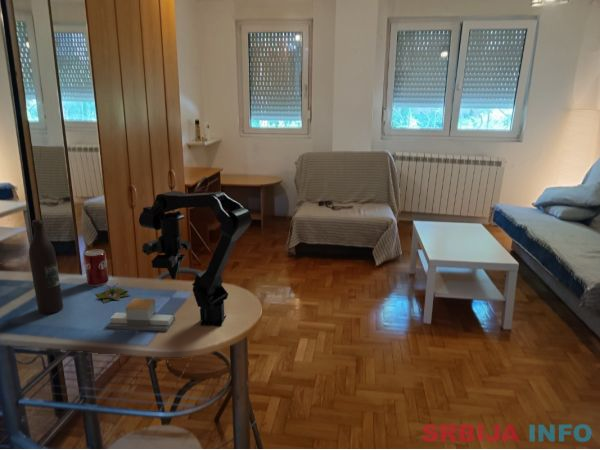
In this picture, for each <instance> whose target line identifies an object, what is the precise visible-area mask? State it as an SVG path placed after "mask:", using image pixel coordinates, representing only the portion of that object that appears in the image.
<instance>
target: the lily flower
mask: <svg viewBox="0 0 600 450" xmlns="http://www.w3.org/2000/svg"><path fill="white" fill-rule="evenodd" d="M108 283H109V282H108ZM118 284H119V283H116V284H114V285H113V287H109V286H108V285H106V284H105V286H106V287H107V288H106V289H105V290H104V291H103V292H99V293H95V294H94V295H95V296H97V298H96V299H95V301H97V300H100V299H102V302H103V304H105V303H107V302H109V301H112V300H116V301H118V302H119V301H120V299H121V298H122V297H129V296H131V295H130V294H128V293H126V292H129V290H128V289H123V288H122V287H116V286H117V285H118ZM109 285H111V283H109ZM114 295H115V296H114Z"/></svg>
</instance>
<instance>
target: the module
mask: <svg viewBox="0 0 600 450" xmlns="http://www.w3.org/2000/svg"><path fill="white" fill-rule="evenodd" d="M156 309H157V307H156V299H154V298H135V297H134V298H133V299H132V300H130V302H129V303H128V304H127V305H126V306H125V313H126V316H127V325H131V326H149V325H150V322H149V319H150V317H151V316H152V315H153V314H157V311H156Z"/></svg>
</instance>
